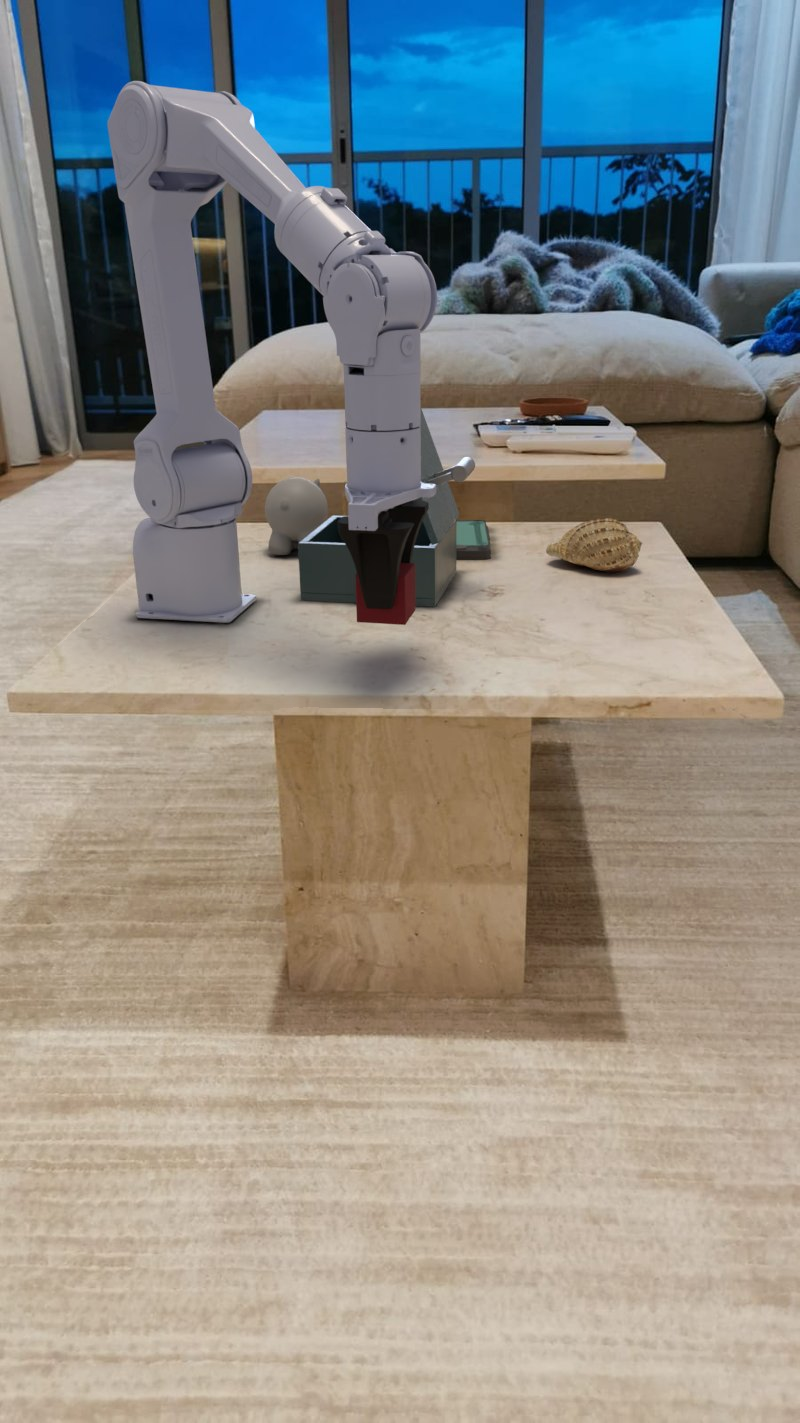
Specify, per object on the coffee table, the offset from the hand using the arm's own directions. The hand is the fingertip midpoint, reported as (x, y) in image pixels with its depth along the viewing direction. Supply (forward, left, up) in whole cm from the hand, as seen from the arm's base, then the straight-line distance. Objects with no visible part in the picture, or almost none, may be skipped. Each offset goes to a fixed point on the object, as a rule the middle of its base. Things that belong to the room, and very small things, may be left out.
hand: (386, 599), depth 86 cm
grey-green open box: (-6, +23, -6) cm, 25 cm away
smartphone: (-1, +43, -6) cm, 43 cm away
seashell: (+15, +34, -6) cm, 38 cm away
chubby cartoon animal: (-19, +38, -6) cm, 43 cm away
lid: (-2, +23, +7) cm, 25 cm away
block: (0, 0, -1) cm, 1 cm away
